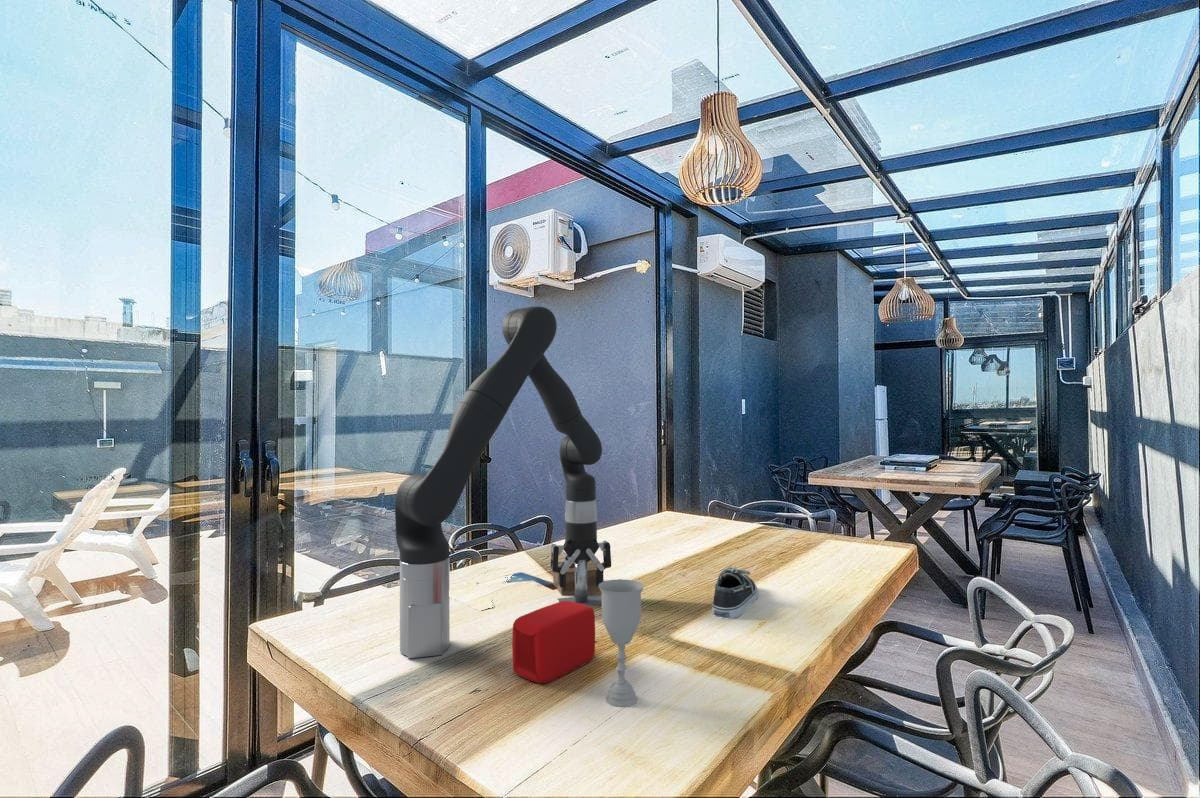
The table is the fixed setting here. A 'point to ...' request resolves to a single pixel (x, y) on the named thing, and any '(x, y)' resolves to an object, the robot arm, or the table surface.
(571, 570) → the socket block
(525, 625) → the decorative item
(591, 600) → the mat
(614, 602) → the chalice
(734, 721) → the table surface
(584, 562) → the pin
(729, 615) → the boat shoe
